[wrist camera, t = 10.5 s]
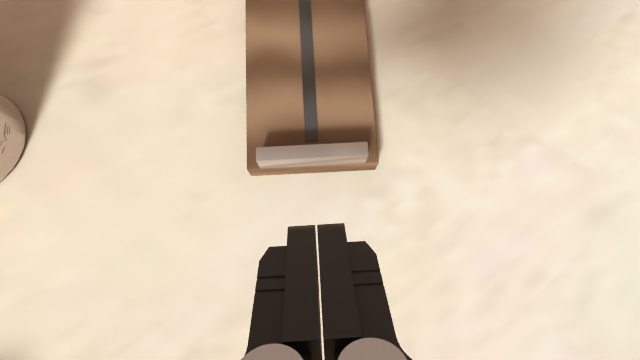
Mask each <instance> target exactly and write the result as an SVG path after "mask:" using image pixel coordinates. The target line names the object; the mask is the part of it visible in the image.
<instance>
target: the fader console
mask: <svg viewBox="0 0 640 360" xmlns="http://www.w3.org/2000/svg"><path fill="white" fill-rule="evenodd" d="M246 101H247V170H248V171H249V173H250V174H251V176H260V175H279V174H298V173H318V172H337V171H356V170H375V169H376V167H377V165H378V163H379V162H378V151H377V140H376V130H375V119H374V108H373V98H372V87H371V76H370V66H369V55H368V44H367V34H366V23H365V12H364V2H363V0H246Z"/></svg>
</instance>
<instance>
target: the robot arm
mask: <svg viewBox="0 0 640 360" xmlns="http://www.w3.org/2000/svg"><path fill="white" fill-rule="evenodd" d="M25 137H26V132H25V123H24V120H23V117H22V115H21V113H20V111H19V110H18V108H17V107H16V106H15V105H14V104H13V103H12V102H11V101H10V100H8V99H7V98H5V97H3V96H1V95H0V181H1V180H2V179H4V178H5V177H6V175H7V174H8V173H9V172H10V171H11V170H12V169H13V168H14V166H15V164H16V163H17V161H18V160H19V158H20V156H21V153H22V151H23V148H24V143H25ZM317 228H318V246H319V265H320V283H321V302H322V320H323V338H324V355H325V360H412V359H411V358H410V357H409V356H408V355H407V354H406V353H405V352H404V351H403V350H402V348H401V347H400V345H399V343H398V341H397V338H396V334H395V330H394V326H393V322H392V318H391V314H390V310H389V305H388V301H387V297H386V293H385V289H384V286H383V281H382V276H381V273H380V268H379V264H378V260H377V256H376V253H375V252H374V251H373V250H372V249H371V248H370V246H369V245H368V244H367V243H366V242H365V241H360V242H347V239H346V232H345V226H344V223H340V224H323V225H317ZM241 360H322V345H321V324H320V304H319V283H318V266H317V250H316V234H315V225H308V226H291V227H288V236H287V246H277V247H269V248H268V249H267V251H266V252H265V254H264V255H263V257H262V258H261V259H260V261H259V267H258V274H257V282H256V289H255V296H254V304H253V311H252V318H251V326H250V333H249V340H248V347H247V351H246V354H245V356H244V357H243V358H242V359H241Z"/></svg>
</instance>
